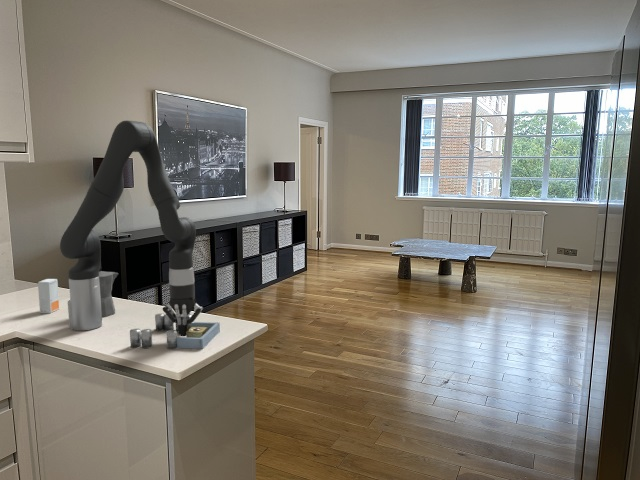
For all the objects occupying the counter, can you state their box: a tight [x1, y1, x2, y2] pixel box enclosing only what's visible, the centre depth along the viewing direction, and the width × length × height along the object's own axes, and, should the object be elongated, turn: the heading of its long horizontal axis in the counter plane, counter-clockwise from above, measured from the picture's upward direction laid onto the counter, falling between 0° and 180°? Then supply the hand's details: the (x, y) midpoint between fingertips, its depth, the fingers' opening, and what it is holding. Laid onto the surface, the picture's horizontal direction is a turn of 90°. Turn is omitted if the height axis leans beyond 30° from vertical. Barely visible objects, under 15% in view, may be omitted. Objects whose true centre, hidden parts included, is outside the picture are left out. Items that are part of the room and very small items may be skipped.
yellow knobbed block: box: [185, 327, 208, 338], centre depth 151 cm, size 5×5×4 cm
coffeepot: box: [99, 266, 120, 318], centre depth 176 cm, size 15×9×18 cm, turn 129°
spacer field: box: [129, 313, 195, 350], centre depth 152 cm, size 14×19×5 cm
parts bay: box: [176, 321, 221, 350], centre depth 151 cm, size 10×16×3 cm, turn 174°
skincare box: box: [37, 278, 60, 314], centre depth 181 cm, size 6×4×12 cm
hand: (184, 335), depth 151 cm, fingers closed
